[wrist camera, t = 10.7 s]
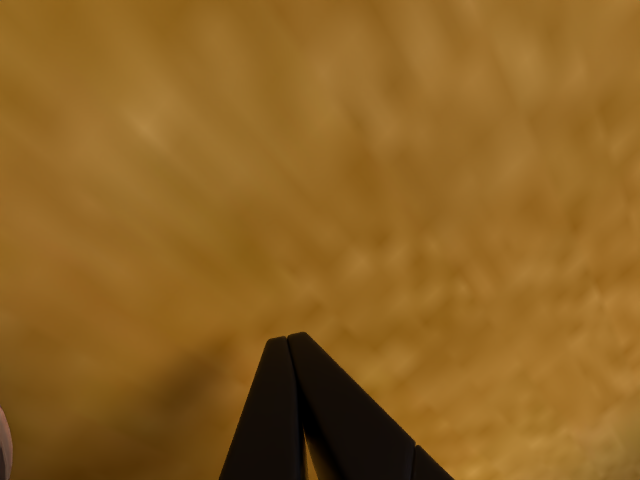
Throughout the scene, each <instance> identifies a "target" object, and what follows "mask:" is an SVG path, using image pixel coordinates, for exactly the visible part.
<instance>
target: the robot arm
mask: <svg viewBox="0 0 640 480" xmlns="http://www.w3.org/2000/svg"><path fill="white" fill-rule="evenodd" d="M303 429H304V430H303ZM304 434H305V437H304ZM305 438H306V442H307V445H308V449H309V452H310V455H311V458H312V462H313V465H314V468H315V471H316V474H317V477H318V480H455V479H453V478H452V477H451V476H450V475H449V474H448V473H447V472H446V471H445V470H444V469H443V468H442V467H441V466H440V465H439V464H438V463H437V462H436V461H435V460H434V459H433V458H432V457H431V456H430V455H429V454H428V453H427V452H426V451H425V450H424V449H423V448H422V447H421V446H419V445H416V442H415V441H414V440H413V439H412V438H411V437H410V436H409V435H408V434H407V433H406V432H405V431H404V430H403V429H402V428H401V427H400V426H399V425H398V424H397V423H396V422H395V421H394V420H393V419H392V418H391V417H390V416H389V415H388V414H387V413H386V412H385V411H384V410H383V409H382V408H381V407H380V406H379V405H378V404H377V403H376V402H375V401H374V400H373V399H372V398H371V397H370V396H369V395H368V394H367V393H366V392H365V391H364V390H363V389H362V388H361V387H360V386H359V385H358V384H357V383H356V382H355V381H354V380H353V379H352V378H351V377H350V376H349V375H348V374H347V373H346V372H345V371H344V370H343V369H342V368H341V367H340V366H339V365H338V364H337V363H336V362H335V361H334V360H333V359H332V358H331V357H330V356H329V355H328V354H327V353H326V352H325V351H324V350H323V349H322V348H321V347H320V346H319V345H318V344H317V343H316V342H315V341H314V340H313V339H312V338H311V337H310V336H309V335H308V334H307V333H306V332H300V333H295V334H290V335H288V337H287V338H286V337H285V336H281V337H277V338H272V339H269V340H268V341H267V342H266V345H265V348H264V351H263V354H262V357H261V359H260V362H259V365H258V368H257V371H256V374H255V377H254V379H253V382H252V385H251V388H250V391H249V394H248V397H247V400H246V402H245V405H244V408H243V411H242V414H241V417H240V420H239V422H238V425H237V428H236V431H235V434H234V437H233V440H232V443H231V445H230V448H229V451H228V454H227V457H226V460H225V463H224V465H223V468H222V471H221V474H220V477H219V480H308V467H307V454H306V445H305ZM415 445H416V447H415Z"/></svg>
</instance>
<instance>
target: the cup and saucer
mask: <svg viewBox="0 0 640 480" xmlns="http://www.w3.org/2000/svg"><path fill="white" fill-rule="evenodd" d="M12 454H13V445H12V439H11V434H10V428H9V425H8V423H7V420H6V417H5V414H4V411H3V410H2V408H1V406H0V480H9V479H10V473H11V468H12Z"/></svg>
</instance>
